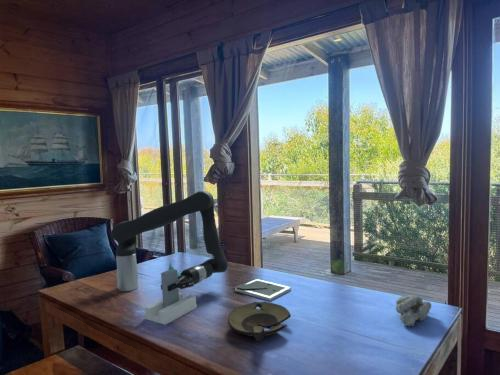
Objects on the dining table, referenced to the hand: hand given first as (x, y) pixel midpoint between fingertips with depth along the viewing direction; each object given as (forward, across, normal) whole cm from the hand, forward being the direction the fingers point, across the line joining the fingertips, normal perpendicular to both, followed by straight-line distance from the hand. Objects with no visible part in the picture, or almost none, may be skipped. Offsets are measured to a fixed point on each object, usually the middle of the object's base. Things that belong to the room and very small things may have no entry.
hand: (164, 288), depth 145 cm
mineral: (-40, +85, +12) cm, 95 cm away
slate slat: (-3, 0, +9) cm, 10 cm away
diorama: (-41, -32, +12) cm, 53 cm away
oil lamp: (-5, +39, +12) cm, 41 cm away
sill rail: (-3, 0, +11) cm, 12 cm away
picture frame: (-41, +21, +12) cm, 47 cm away
